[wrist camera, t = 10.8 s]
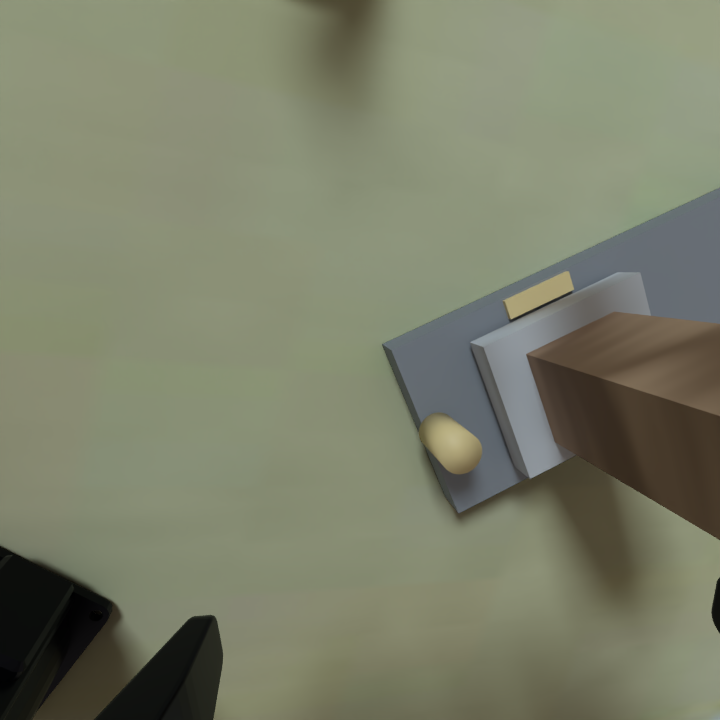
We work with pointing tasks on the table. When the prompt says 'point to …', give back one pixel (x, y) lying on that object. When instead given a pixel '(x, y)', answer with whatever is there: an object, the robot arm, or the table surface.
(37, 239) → the table surface
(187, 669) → the robot arm
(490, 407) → the tensioner track
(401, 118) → the table surface
